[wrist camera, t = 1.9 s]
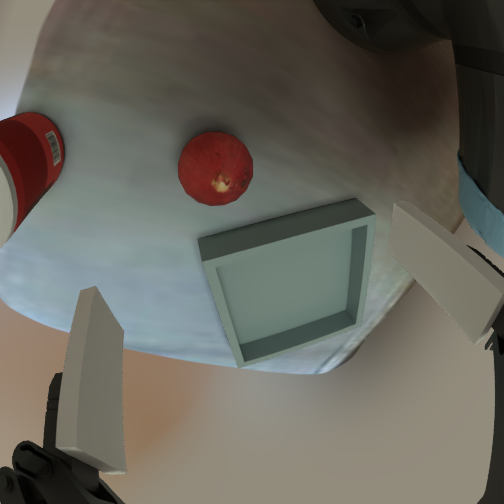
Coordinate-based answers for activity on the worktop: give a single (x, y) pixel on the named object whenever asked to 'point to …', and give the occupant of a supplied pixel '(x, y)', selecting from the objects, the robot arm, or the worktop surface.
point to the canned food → (26, 166)
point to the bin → (291, 278)
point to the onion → (215, 168)
